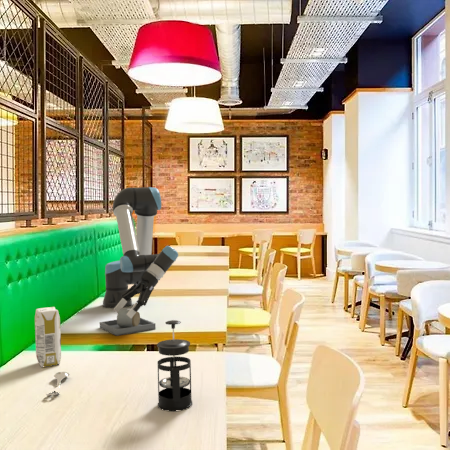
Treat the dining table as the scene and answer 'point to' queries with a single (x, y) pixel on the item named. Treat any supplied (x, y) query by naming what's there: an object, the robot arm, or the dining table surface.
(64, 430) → the dining table surface
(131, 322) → the ceramic mug
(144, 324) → the tray
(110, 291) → the robot arm
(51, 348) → the juice carton
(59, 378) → the grey elongated piece
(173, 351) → the french press
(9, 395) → the dining table surface
